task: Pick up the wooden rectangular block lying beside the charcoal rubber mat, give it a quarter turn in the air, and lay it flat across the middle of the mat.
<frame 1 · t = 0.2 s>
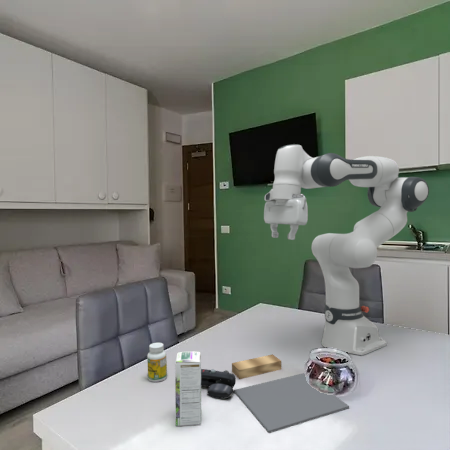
hand: (282, 238, 106), 39 cm above the table, tool pointing down, fingers open, 8 cm apart
wooden rectangular block: (256, 371, 99), on the table
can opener: (205, 389, 90), on the table
supplement bottle: (157, 378, 96), on the table
rubber mat: (288, 399, 83), on the table
syrup box: (189, 419, 77), on the table
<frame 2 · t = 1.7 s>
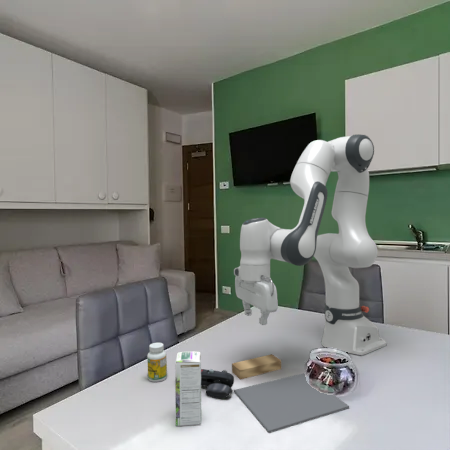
hand: (255, 319, 98), 15 cm above the table, tool pointing down, fingers open, 8 cm apart
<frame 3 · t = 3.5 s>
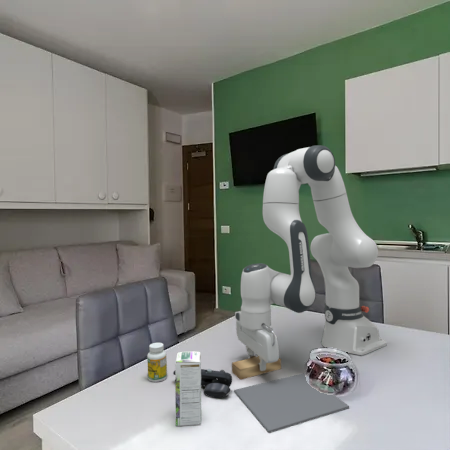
hand: (256, 365, 99), 2 cm above the table, tool pointing down, fingers closed on wooden rectangular block, 5 cm apart
wooden rectangular block: (256, 370, 99), on the table, touching gripper
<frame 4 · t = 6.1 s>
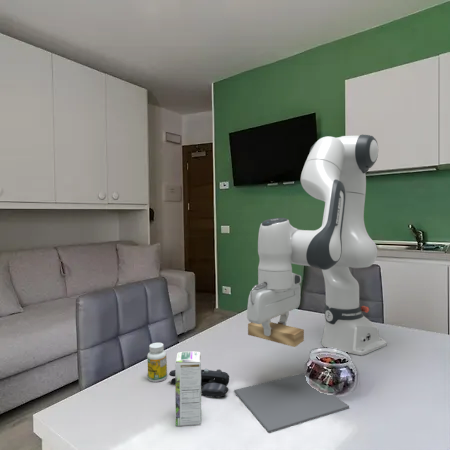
hand: (275, 331, 88), 15 cm above the table, tool pointing down, fingers closed on wooden rectangular block, 5 cm apart
wooden rectangular block: (275, 337, 88), point 14 cm above the table, touching gripper
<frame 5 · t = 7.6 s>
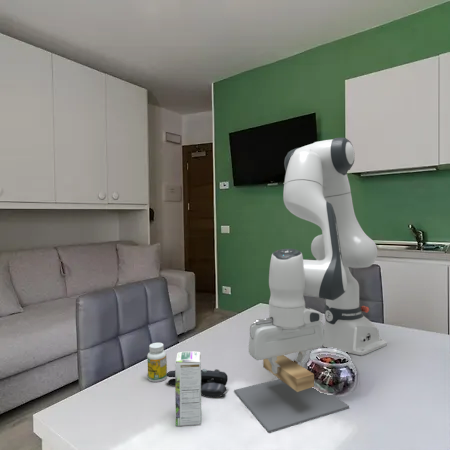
hand: (287, 369, 83), 8 cm above the table, tool pointing down, fingers closed on wooden rectangular block, 5 cm apart
wooden rectangular block: (287, 376, 83), point 6 cm above the table, touching gripper
when the fingers open (4 cm above the table, at t = 8.9 s): wooden rectangular block drops 1 cm, resting on rubber mat.
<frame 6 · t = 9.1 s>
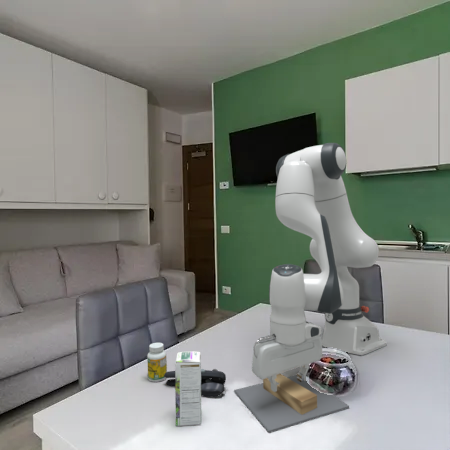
hand: (288, 385, 83), 4 cm above the table, tool pointing down, fingers open, 7 cm apart
wooden rectangular block: (288, 397, 83), resting on rubber mat
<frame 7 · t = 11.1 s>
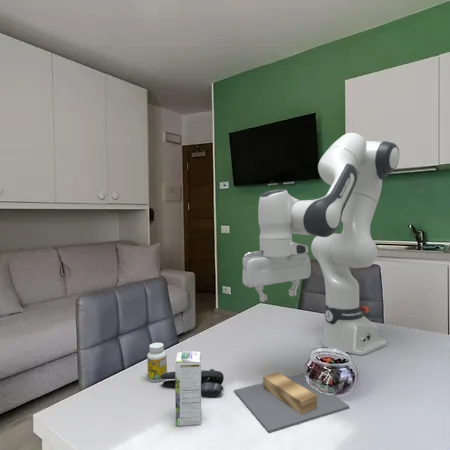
hand: (278, 298, 92), 23 cm above the table, tool pointing down, fingers open, 8 cm apart
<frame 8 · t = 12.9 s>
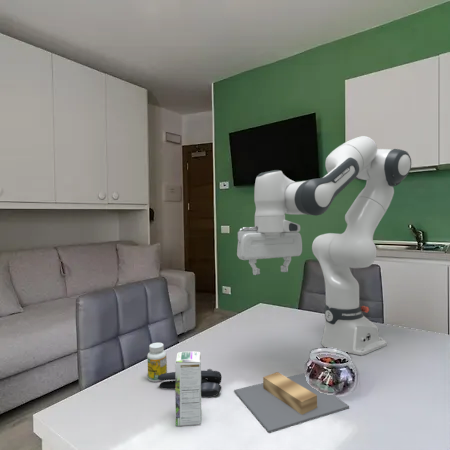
hand: (270, 273, 98), 29 cm above the table, tool pointing down, fingers open, 8 cm apart
at the end: wooden rectangular block inside the target area on the rubber mat (0.1 cm from its centre), point 0.5 cm above the rubber mat's base; wooden rectangular block tilted 0°; wooden rectangular block touching rubber mat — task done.
